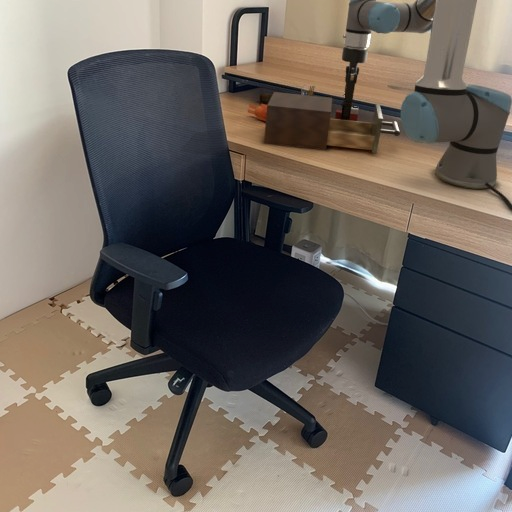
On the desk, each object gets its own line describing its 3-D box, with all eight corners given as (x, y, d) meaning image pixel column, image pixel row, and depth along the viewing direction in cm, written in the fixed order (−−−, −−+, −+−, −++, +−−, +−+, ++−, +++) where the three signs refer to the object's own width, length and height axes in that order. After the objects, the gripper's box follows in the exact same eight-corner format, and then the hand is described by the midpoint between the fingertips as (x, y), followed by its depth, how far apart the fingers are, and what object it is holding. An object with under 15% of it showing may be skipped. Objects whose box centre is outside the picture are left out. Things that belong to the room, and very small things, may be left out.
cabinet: (327, 133, 166) (332, 97, 160) (325, 150, 151) (331, 111, 145) (271, 126, 167) (274, 91, 162) (264, 143, 153) (267, 105, 147)
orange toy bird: (246, 99, 172) (276, 107, 166) (259, 103, 178) (288, 110, 173) (243, 114, 173) (272, 122, 168) (255, 118, 180) (284, 126, 174)
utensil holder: (307, 117, 180) (311, 81, 174) (316, 122, 175) (320, 85, 169) (291, 117, 178) (295, 81, 172) (300, 123, 173) (304, 86, 167)
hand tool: (258, 103, 192) (259, 90, 190) (266, 101, 195) (267, 89, 192) (291, 116, 180) (293, 102, 178) (300, 115, 182) (302, 101, 180)
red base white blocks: (355, 126, 171) (358, 106, 168) (355, 129, 169) (358, 109, 165) (334, 124, 172) (336, 104, 169) (333, 127, 169) (336, 107, 166)
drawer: (392, 138, 163) (398, 106, 158) (397, 155, 149) (404, 120, 144) (316, 130, 165) (320, 98, 160) (313, 146, 151) (317, 111, 146)
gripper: (343, 42, 165) (332, 116, 177) (343, 50, 151) (331, 130, 163) (367, 44, 165) (355, 118, 177) (369, 53, 151) (356, 132, 162)
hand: (344, 124), depth 170 cm, fingers closed on red base white blocks, 3 cm apart
